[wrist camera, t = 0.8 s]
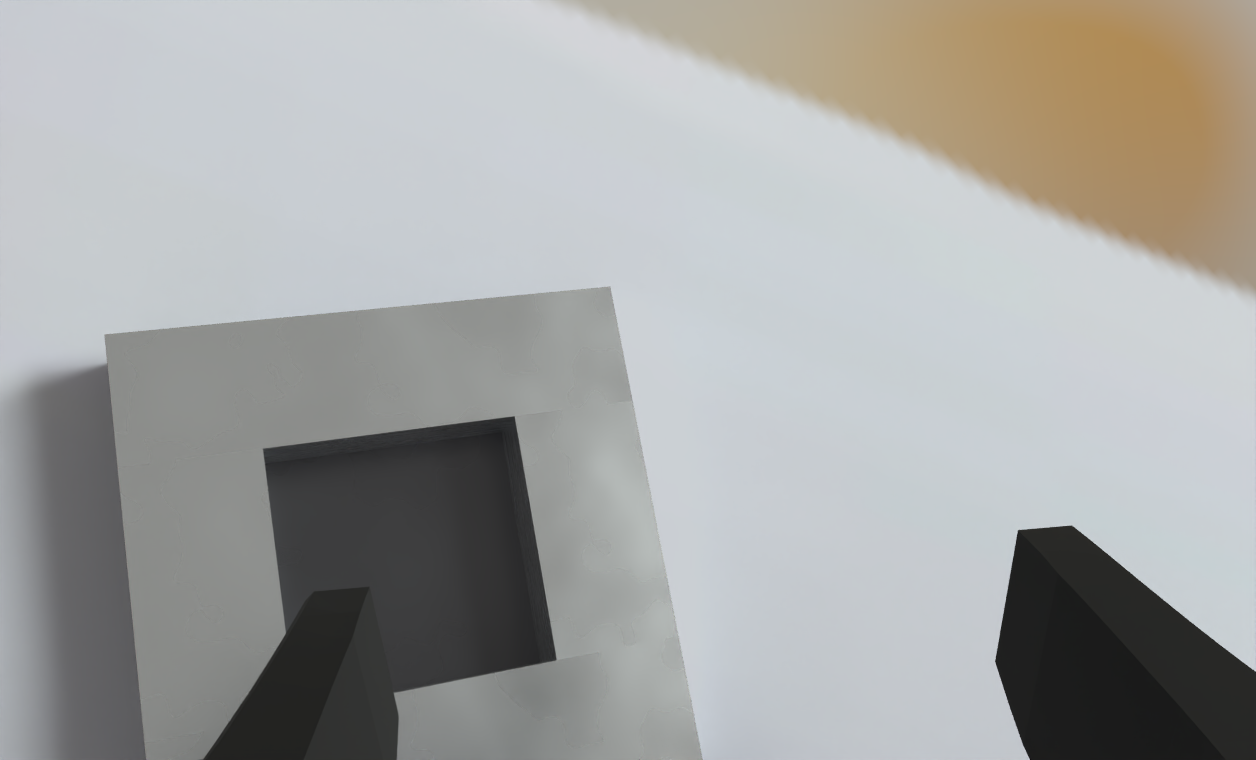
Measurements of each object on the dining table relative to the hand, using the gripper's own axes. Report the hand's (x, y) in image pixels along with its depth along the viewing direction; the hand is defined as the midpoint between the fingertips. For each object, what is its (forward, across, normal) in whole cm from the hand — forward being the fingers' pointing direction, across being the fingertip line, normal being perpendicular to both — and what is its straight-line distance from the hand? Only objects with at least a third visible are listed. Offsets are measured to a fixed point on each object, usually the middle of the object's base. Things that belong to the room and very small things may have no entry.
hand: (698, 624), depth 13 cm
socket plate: (+11, +6, +8) cm, 15 cm away
